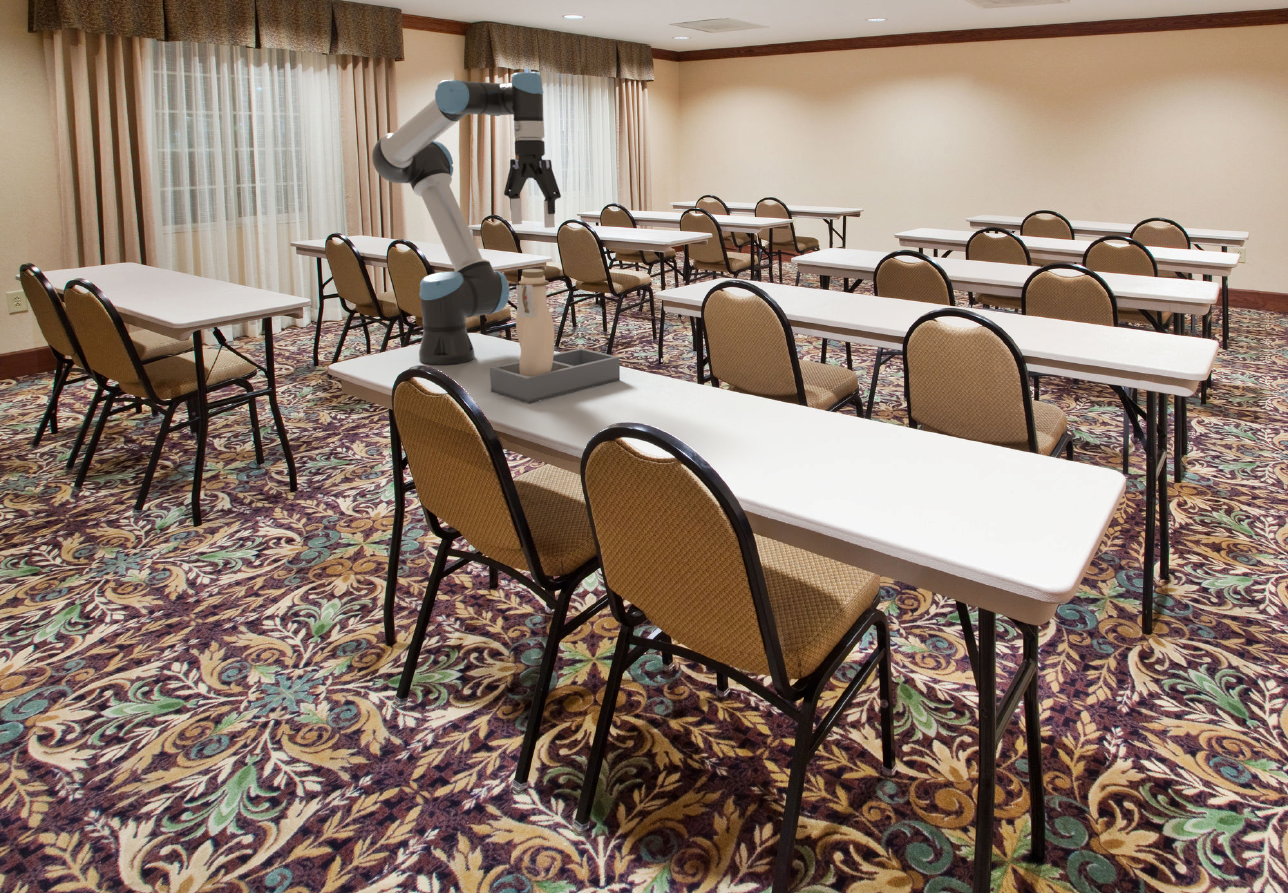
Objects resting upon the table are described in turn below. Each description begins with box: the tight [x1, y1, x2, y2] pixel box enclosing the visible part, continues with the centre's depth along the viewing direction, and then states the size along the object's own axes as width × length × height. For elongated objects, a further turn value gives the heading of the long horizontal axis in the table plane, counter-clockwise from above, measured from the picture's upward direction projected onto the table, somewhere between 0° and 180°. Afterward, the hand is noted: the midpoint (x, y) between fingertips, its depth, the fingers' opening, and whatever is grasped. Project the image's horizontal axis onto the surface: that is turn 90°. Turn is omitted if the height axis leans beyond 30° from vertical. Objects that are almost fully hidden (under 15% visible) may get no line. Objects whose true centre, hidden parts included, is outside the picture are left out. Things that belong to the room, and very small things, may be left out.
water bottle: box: [515, 268, 555, 377], centre depth 201 cm, size 10×9×28 cm
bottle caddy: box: [489, 347, 621, 405], centre depth 210 cm, size 14×30×6 cm, turn 136°
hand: (532, 225), depth 221 cm, fingers open, 13 cm apart
